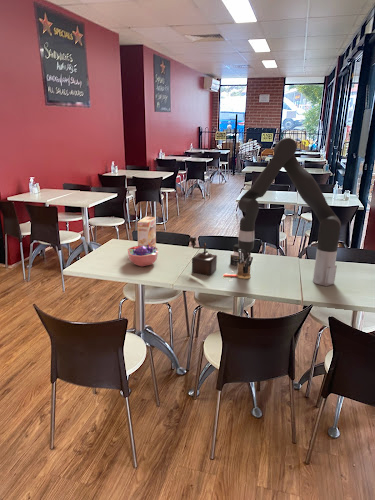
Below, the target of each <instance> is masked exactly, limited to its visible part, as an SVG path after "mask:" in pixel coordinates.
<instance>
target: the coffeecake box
mask: <svg viewBox="0 0 375 500" xmlns="http://www.w3.org/2000/svg"><path fill="white" fill-rule="evenodd" d="M156 221H157V218H156V216H144V217H143V218H141V219H139V220H138V221H137V246H140V245H150V246H154V247H156V248H157V236H156V234H157V222H156Z"/></svg>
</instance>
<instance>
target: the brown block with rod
mask: <svg viewBox="0 0 375 500" xmlns="http://www.w3.org/2000/svg"><path fill="white" fill-rule="evenodd" d="M243 267H244V263H238V266H237V270H236V271H237V272H236V274H232V273H231V274H230V273H227V274H224V273H223V274H222V276H224V277H231V278H232V277H236V278H237V279H239V280H250V279H251V275H252V274H251V268H252V267H251V266H248V273H246V274H244V273H243Z"/></svg>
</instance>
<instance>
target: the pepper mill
mask: <svg viewBox="0 0 375 500" xmlns="http://www.w3.org/2000/svg"><path fill="white" fill-rule="evenodd" d="M188 242H190V243H191V244H190V246H191V247H192V249H195V250H196V249H197V250H198V249H199V250H200V249H203V252H198V253H197V254H196V255H195V256H194V257H192V258H191V273H192V276H194V277H195V275H194V274H197V275H203V276H209V277H211V276H212V275H213V274H214V273H215V272H216V271H217V261H218V255H217V254H212V253H209V252H208V251H207V250H206V249H207V243H206V242H205V243H203V246H196V245H197V243H196V242H197V238H196V237H195V236H190V237H189V239H188Z"/></svg>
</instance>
